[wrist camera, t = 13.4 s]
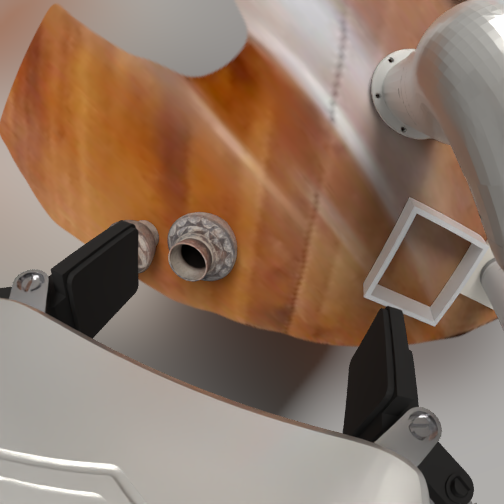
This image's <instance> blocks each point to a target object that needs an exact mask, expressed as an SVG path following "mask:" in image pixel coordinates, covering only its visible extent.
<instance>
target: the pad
mask: <svg viewBox="0 0 504 504" xmlns="http://www.w3.org/2000/svg"><path fill="white" fill-rule="evenodd" d="M486 243H487V245H488V246H489V248H488V250H487V252H486V253H485V255H484V257H483V258H482V260H481V261H480V263H479V265H478V266H477V268H476V269H475V271H474V272H473V274H472V276H471V277H470V279H469V280H468V282H467V283H466V285H465V286H464V287H463V289H462V290H461V292H460V293H461V294H463V295H465V296H467V297H469V298H471V299H473V300H475V301H477V302H479V303H481V304H483V305H485V306H487V307H489V308H491V309H493V306H492V304H491V302H490V300H489V298H488V296H487V294H486V292H485V290H484V289H483V287H482V285H481V282H480V273H481V271H482V269H483V267H484V265H485V264H486V263H487V262H488V261H489V260H491V259H493V258H494V256H493V253H492V251H491V248H490V245H489V243H488V239H487V240H486ZM493 310H494V309H493Z"/></svg>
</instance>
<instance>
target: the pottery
mask: <svg viewBox="0 0 504 504" xmlns="http://www.w3.org/2000/svg"><path fill="white" fill-rule="evenodd" d="M124 221H126V222H129V223H132V224H134V225H135V226H136V229H137V230H138V232H139V238H138V273H142V272H144V271H145V270H147V269H148V267H149V266H150V264H151V262H152V260H153V257H154V255H155V249H156V245H157V244H158V241H159V235H158V232H157V229H156V228H155V226H154V225H153V224H151V223H150V222H148V221H145V220H140V221H135V220H124ZM116 223H117V222H116ZM116 223H114V224H116ZM114 224H112V225H111V226H113V225H114ZM111 226H110V227H111ZM110 227H109V228H110ZM168 247H169V255H168V260H169V264H170V266H171V268H172V270H173V271H174V272H175V273H176V274H177V275H178V276H179V277H181V278H182V279H185V280H187V281H198V280H204V281H215V280H219V279H221V278H223V277H225V276H226V275H227V274H228V273H229V272H230V271H231V270H232V268H233V266H234V264H235V261H236V256H237V242H236V238H235V235H234V233H233V231H232V229H231V228H230V226H229V225H228V223H227V222H226V221H224V220H223V219H221V218H220V217H218V216H216V215H213V214H210V213H204V212H196V213H190V214H187V215H184V216H182V217H181V218H179V219H178V220H176V221H175V222H174V223H173V225H172V226H171V228H170V230H169V234H168Z"/></svg>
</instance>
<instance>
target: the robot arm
mask: <svg viewBox="0 0 504 504" xmlns="http://www.w3.org/2000/svg"><path fill="white" fill-rule="evenodd" d="M389 59H391V60H392V63H390V62H389V61H388V60H389ZM377 94H378V95H379V98H376V95H377ZM371 95H372V99H373V103H374V106H375V108H376V110H377V112H378V114H379V115H380V117H381V118H382V120H383V121H384V122H385V123H386V124H387V125H388V126H389V127H390V128H392V129H393V130H394V131H396V132H398V133H399V134H401V135H404V136H406V137H409V138H413V139H430V138H433V139H435V140H437V141H439V142H442V143H444V144H447V145H451V147H452V149H453V152H454V154H455V156H456V158H457V161H458V163H459V165H460V167H461V170H462V172H463V175H464V176H465V177H466V180H467V182H468V185H469V187H470V190H471V193H472V195H473V198H474V201H475V204H476V207H477V209H478V212H479V215H480V218H481V221H482V224H483V227H484V231H485V233H486V236H487V239H488V243H489V245H490V248H491V251H492V253H493V256H494V258H495V260H496V262H497V263H498V265H499V266H500V268H501V269H502V270H503V271H504V0H468V1H465V2H462V3H460V4H458V5H456V6H454V7H452V8H451V9H449V10H447V11H446V12H445V13H443V14H442V15H441V16H440V17H438V18H437V19H436V20H435V21H434V22H433V23H432V24H431V25H430V26H429V28H428V29H427V30H426V32H425V33H424V35H423V36H422V38H421V40H420V42H419V44H418V46H417V49H402V50H398V51H395V52H393V53H391V54H389V55H387V56H386V57H385V58H384V59H383V60H382V61H381V62H380V63H379V64H378V66H377V67H376V69H375V71H374V74H373V77H372V82H371ZM402 127H404V130H403V131H402V130H401V128H402ZM138 238H139V232H138V230H137V229H136V226H135V225H134V224H132V223H129V222H126V221H123V220H121V221H119V222H117V223H116V224H114V225H113V226H111V227H110V228H108V229H107V230H105V231H104V232H102V233H101V234H99V235H98V236H96V237H95V238H93V239H92V240H91V241H89V242H88V243H86V244H85V245H83V246H82V247H81V248H79V249H78V250H77V251H75V252H73V253H72V254H71V255H69V256H68V257H67V258H65V259H64V260H63V261H61V262H60V263H58V264H57V265H56V266H54V267H53V268H52V269H51V273H52V274H51V275H50V276H49V277H48V275H47V274H46V273H45V272H43V271H41V270H28V271H25V272H23V273H21V274H19V275H18V276H17V277H16V278H15V280H14V282H13V285H12V287H6V288H0V504H472V502H471V499H472V497H473V492H474V487H473V482H472V480H471V478H470V476H469V475H468V474H467V473H466V472H465V470H464V469H463V468H462V467H461V466H460V465H459V464H458V463H457V462H456V461H455V460H454V458H452V456H451V455H450V454H449V453H448V452H447V451H446V450H445V449H444V448H443V446H442V445H441V444H440V443H439V442H438V441H439V439H440V437H441V432H442V428H441V424H440V422H439V420H438V418H437V417H436V415H435V414H434V413H432V412H431V411H430V410H428V409H425V408H423V407H419V405H418V395H417V386H416V378H415V369H414V361H413V355H412V351H410V350H409V348H408V341H407V335H406V329H405V322H404V317H403V312H402V310H400V309H397V308H394V307H390V306H387V307H386V308H385V309H383V308H381V309H380V310H379V312H378V313H377V315H376V317H375V319H374V321H373V323H372V324H371V326H370V328H369V330H368V332H367V333H366V335H365V337H364V339H363V340H362V342H361V344H360V346H359V347H358V349H357V351H356V352H355V354H354V356H353V357H352V359H351V362H350V365H349V376H348V388H347V399H346V410H345V418H344V428H343V434H342V433H339V432H334V431H331V430H327V429H323V428H319V427H315V426H312V425H308V424H305V423H301V422H298V421H295V420H291V419H288V418H284V417H281V416H278V415H274V414H271V413H268V412H265V411H261V410H259V409H255V408H253V407H249V406H246V405H244V404H241V403H238V402H235V401H232V400H229V399H226V398H224V397H221V396H219V395H216V394H213V393H211V392H208V391H205V390H203V389H200V388H198V387H195V386H192V385H190V384H188V383H185V382H183V381H181V380H178V379H176V378H173V377H171V376H169V375H167V374H164V373H162V372H160V371H157V370H155V369H153V368H151V367H149V366H146V365H144V364H142V363H140V362H138V361H136V360H134V359H132V358H129V357H127V356H125V355H123V354H121V353H119V352H117V351H115V350H113V349H111V348H109V347H107V346H105V345H103V344H101V343H99V342H97V341H96V340H94V339H93V337H94V336H95V335H96V334H97V333H98V332H99V331H100V330H101V329H102V328H103V327H104V326H105V325H106V323H107V322H108V321H109V320H110V319H111V318H112V317H113V316H114V315H115V314H116V313H117V312H118V311H119V310H120V309H121V308H122V306H123V305H124V304H125V303H126V302H127V301H128V300H129V299H130V298H131V297H132V296H133V295H134V294H135V293H136V291H137V289H138ZM474 504H477V503H474Z"/></svg>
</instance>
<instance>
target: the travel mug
mask: <svg viewBox="0 0 504 504" xmlns="http://www.w3.org/2000/svg"><path fill="white" fill-rule="evenodd" d="M480 282H481V285H482V287H483V289H484V290H485V292H486V294H487V296H488V298H489V300H490V302H491V304H492V306H493V309H494V311H495V313H496V315H497V317H498V319H499V321H500V323H501V326H502V328H503V330H504V271H503V270H502V269H501V268H500V266H499V265H498V263H497V262H496V260H495V258H493V259H491V260H489V261H488V262H487V263H486V264H485V265H484V267H483V269H482V271H481V273H480Z"/></svg>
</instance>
